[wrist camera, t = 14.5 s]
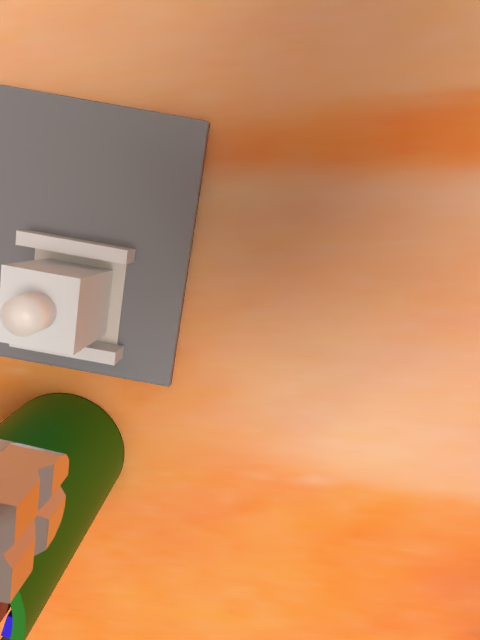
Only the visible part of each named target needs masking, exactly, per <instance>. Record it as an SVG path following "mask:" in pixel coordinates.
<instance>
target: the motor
mask: <svg viewBox="0 0 480 640" xmlns="http://www.w3.org/2000/svg"><path fill="white" fill-rule="evenodd" d="M0 439H2V440H7V441H12V442H14V443H20V444H25V445H29V446H33V447H38V448H42V449H46V450H51V451H55V452H60V453H64V454H67V456H68V458H69V470H68V476H67V477H66V478H65V480H64V481H63V482H62V484H61V485H60V486H61V488H62V490H63V491H64V493H65V495H66V501H65V508H64V512H63V516H62V520H61V523H60V525H59V527H58V530H57V532H56V534H55V537H54V538H53V540H52V542H51V543H50V545H49V546H48V548H47V549H46V550H45V551H43V552H41V553H39V554H37V555H35V556H34V560H33V570H32V572H31V573H30V575H29V576H28V578H27V579H26V581H25V582H24V583H23V585H22V586H21V588H20V589H19V591H18V592H17V594H16V595H15V597H14V598H13V600H12V601H11V603H10V604H9V603H3V602H0V622H1V621H2V619H3V618H4V616H5V615H6V613H7V612H8V610H9V609H10V607H11V609H12V610H11V611H10V613H9V614H8V616H7V619H6V622H5V625H4V628H3V631H2V634H1V636H3V637H2V638H1V640H25V639H26V638H27V636H28V634H29V632H30V631H31V629H32V627H33V625H34V624H35V622H36V620H37V618H38V617H39V615H40V613H41V611H42V610H43V608H44V606H45V604H46V603H47V601H48V599H49V597H50V596H51V594H52V592H53V590H54V589H55V587H56V585H57V583H58V582H59V580H60V578H61V576H62V575H63V573H64V571H65V569H66V568H67V566H68V564H69V562H70V561H71V559H72V557H73V555H74V554H75V552H76V550H77V548H78V547H79V545H80V543H81V541H82V540H83V538H84V536H85V534H86V533H87V531H88V529H89V527H90V526H91V524H92V522H93V520H94V519H95V517H96V515H97V513H98V512H99V510H100V508H101V506H102V505H103V503H104V501H105V499H106V498H107V496H108V494H109V492H110V491H111V489H112V487H113V485H114V484H115V482H116V480H117V478H118V476H119V475H120V472H121V470H122V467H123V462H124V446H123V441H122V438H121V435H120V432H119V430H118V428H117V427H116V425H115V423H114V422H113V421H112V419H111V418H110V417H109V416H108V415H107V414H106V413H105V412H104V411H103V410H102V409H101V408H100V407H98V406H97V405H95V404H94V403H92V402H90V401H88V400H86V399H84V398H81V397H78V396H75V395H70V394H62V393H56V394H47V395H43V396H40V397H37V398H35V399H33V400H31V401H29V402H28V403H26V404H25V405H24V406H22V407H21V408H20V409H19V410H17V411H16V412H15V413H13V414H12V415H11V416H9V417H8V418H7V419H5V420H4V421H3V422H1V423H0Z"/></svg>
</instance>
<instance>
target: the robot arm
mask: <svg viewBox="0 0 480 640" xmlns="http://www.w3.org/2000/svg"><path fill="white" fill-rule="evenodd" d="M68 470H69V458H68V456H67V454H64V453H60V452H55V451H51V450H46V449H42V448H38V447H33V446H29V445H25V444H20V443H14V442H12V441H7V440H2V439H0V602H3V603H9V604H10V603H11V601H12V600H13V598H14V597H15V595H16V594H17V592H18V591H19V589H20V588H21V586H22V585H23V583H24V582H25V581H26V579H27V578H28V576H29V575H30V573H31V572H32V570H33V560H34V556H35V555H37V554H39V553H41V552H43V551H45V550H46V549H47V548H48V546H49V545H50V543H51V542H52V540H53V538H54V537H55V534H56V532H57V530H58V527H59V525H60V523H61V520H62V516H63V512H64V508H65V501H66V495H65V493H64V491H63V490H62V488H61V486H60V485H61V484H62V482H63V481H64V480H65V478H66V477H67V476H68Z"/></svg>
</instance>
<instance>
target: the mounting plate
mask: <svg viewBox="0 0 480 640" xmlns="http://www.w3.org/2000/svg"><path fill="white" fill-rule="evenodd" d="M209 126H210V123H209V121H204V120H198V119H193V118H187V117H181V116H175V115H170V114H164V113H158V112H153V111H147V110H141V109H136V108H130V107H124V106H119V105H113V104H107V103H102V102H96V101H90V100H85V99H79V98H73V97H68V96H62V95H56V94H50V93H45V92H39V91H33V90H28V89H22V88H16V87H11V86H5V85H0V281H1V264H9V263H17V262H24V261H32V260H39V259H47V258H49V259H55V260H60V261H66V262H71V263H77V264H82V265H88V266H94V267H99V268H105V269H110V270H113V276H112V285H111V294H110V303H109V312H108V321H107V330H106V334H105V335H103V336H102V337H100V338H99V339H97V340H96V341H94V342H93V343H91V344H90V345H88V346H87V347H85V348H84V349H82V350H81V351H79V352H78V353H76V354H75V355H68V354H63V353H57V352H52V351H47V350H41V349H36V348H30V347H25V346H19V345H14V344H8V343H3V342H0V356H3V357H9V358H14V359H20V360H25V361H31V362H36V363H42V364H47V365H53V366H58V367H64V368H69V369H75V370H80V371H86V372H91V373H97V374H102V375H108V376H113V377H119V378H124V379H130V380H135V381H141V382H146V383H151V384H157V385H162V386H168V387H169V386H170V385H171V382H172V375H173V369H174V362H175V355H176V348H177V342H178V335H179V328H180V322H181V315H182V308H183V301H184V295H185V288H186V281H187V274H188V268H189V261H190V254H191V247H192V241H193V234H194V227H195V221H196V214H197V207H198V200H199V194H200V187H201V180H202V173H203V167H204V160H205V153H206V147H207V140H208V133H209Z"/></svg>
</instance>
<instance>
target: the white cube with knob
mask: <svg viewBox="0 0 480 640" xmlns="http://www.w3.org/2000/svg"><path fill="white" fill-rule="evenodd" d="M112 276H113V270H110V269H105V268H99V267H94V266H88V265H82V264H77V263H71V262H66V261H60V260H55V259H49V258H47V259H39V260H32V261H24V262H17V263H9V264H1V281H0V342H3V343H8V344H14V345H19V346H25V347H30V348H36V349H41V350H47V351H52V352H57V353H63V354H68V355H75V354H76V353H78V352H79V351H81V350H82V349H84V348H85V347H87V346H88V345H90V344H91V343H93V342H94V341H96V340H97V339H99V338H100V337H102V336H103V335H105V334H106V330H107V321H108V312H109V303H110V294H111V285H112Z"/></svg>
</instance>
